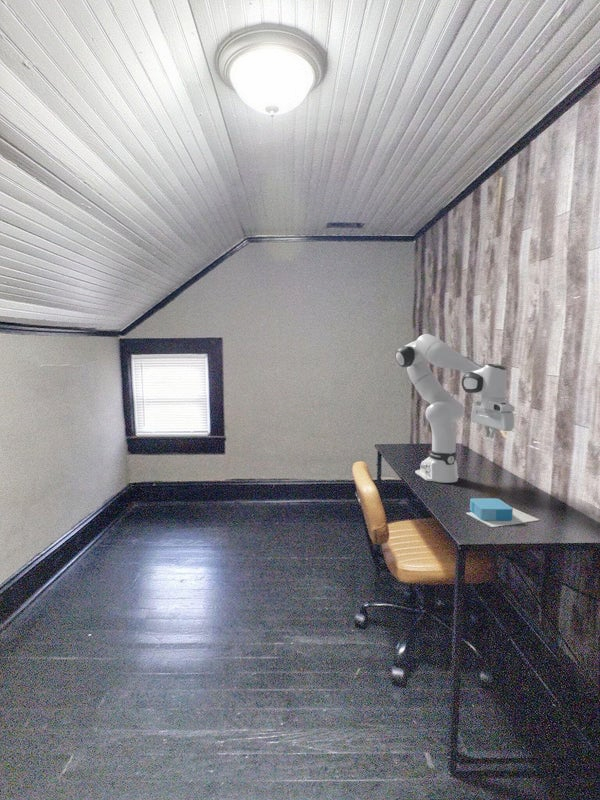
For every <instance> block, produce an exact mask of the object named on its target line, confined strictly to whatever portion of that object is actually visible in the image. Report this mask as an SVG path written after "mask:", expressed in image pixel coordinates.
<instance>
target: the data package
mask: <svg viewBox="0 0 600 800" xmlns="http://www.w3.org/2000/svg"><path fill="white" fill-rule="evenodd" d="M513 508H514V507H511V506H510V505H509V504H507V503H506V502H504V501H503V500H501V499H500V498H498V497H497V498H495V497H494V498H490V497H487V498H485V497H483V498H480V497H479V498H474V497H473V498H470V499H469V512H473V513H474V514H475V515H476V516H477V517H478V518H480V519H481V520H484V521H510V520H512V512H513Z"/></svg>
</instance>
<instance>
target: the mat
mask: <svg viewBox="0 0 600 800" xmlns="http://www.w3.org/2000/svg"><path fill="white" fill-rule="evenodd" d="M512 508H513V512H512V520H510V521H484V520H481V519H480V518H478V517H477V516H476V515H475V514H474V513H473V512H471V511H469V512H465V514H466V515H468V516H469V517H471V518H474V519H475V520H477V521H479V522H480V523H483V524H485V525H486V526H488V527H491V528H492V527H493V528H498V527H499V526H500V527H505V525H506V526H511V525H512V526H513V525H518V524H526V523H533V522H540V519H539V518H537V517H534V516H532V515H531V514H528V513H525V512H523V511H521V510H519V509H516V508H514V507H512Z"/></svg>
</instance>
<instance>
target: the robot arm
mask: <svg viewBox="0 0 600 800" xmlns="http://www.w3.org/2000/svg"><path fill="white" fill-rule="evenodd" d="M394 354H395V357H394V358H395V361H396V363H397V364H398V365H399V366H400V367H401V368H406V371H407V374H408V377H409V379H410V381H411V383H412V384H413V386H414V388H415V390H416V391H417V392H418V394H419V395H420V397H421V398H422V400H424V401H426V402H427V403H428V404H430V405H429V406H427V408H426V410H425V413H424V414H425V418H426V420H427V421H428V423H429V425H430V428H431V429H430V430H431V435H432V438H431V442H432V443H431V449H428V452H429V455H428V457H426V458H425V459H424V460H422V461H421V463H420V469H416V470H415V474H416V475H418V476H420V478H421V479H423V480H425V481H428V482H436V483H443V484H444V483H445V484H447V483H448V484H449V483H450V484H451V483H456V482H458V481H459V478H460V476H459V475H458V462H457V451H456V450H457V449H456V447H457V446H456V445H457V436H456V433H454V429H453V423H454V422H457V421H459V420H460V419H462V418H463V416H464V415H465V407H464V405H463V404H462V403H461V402H460V401H459V400H457V399H455V398H454V396H452V395H451V394H450V393H449V392H448V391H447V390H446V389H445V388H444V387H443V385H442V384H441V383H440V381H439V380H438V378H437V376H435V374H434V373H433V371H432V370H431V369H430V367H429V364H428V363H430V364H431V365H433V366H435V367H437V368H440V369H452V370H456V371H459V372H462V373H464V375H463V376H462V378H461V387H462V389H463V391H465V392H466V393H467V394H474V395H475V394H476V395H477V394H478V395H479V394H481V397H480V398H481V399H480V401H479V400H477V401H475V402H474V403H473V408H472V411H471V414H470V415H471V416H470V421H471V422H472V423H474V424H476V425H477V424H478V425H481V426H483V429H484V432H485V437H486V438H489V439H494V437H495V434H496V432H497V431H498V430H500V431H504V432H511V431H513V429H514V425H515V424H514V423H515V414H514V412H515V410H516V409H515V405H513V404H511V403H510V402H508V401H507V400H506V393H505V392H506V389H507V385H508V373H507V368H506V367H504V366H503V365H500V364H496V363H489V364H488V363H487V364H485V365H484V366H481V365H480V364H478V363H476V362H475V361H473V360H471V359H470V358H468V357H467V356H465V355H463V354H461V353H460V352H458V351H457V350H455V349H454V348H453V347H451V346H450V345H448V344H447V343H445V342H444V340H441V338H438V337H436V336H434V335H432V334H429V333H424V334H421V335H420V336H418V338H417V339H416V340H414V341H412V342H410V343H408V344H405V345H403V346H400V347H399V348H398V349H397V350H396V351H395V353H394Z"/></svg>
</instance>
